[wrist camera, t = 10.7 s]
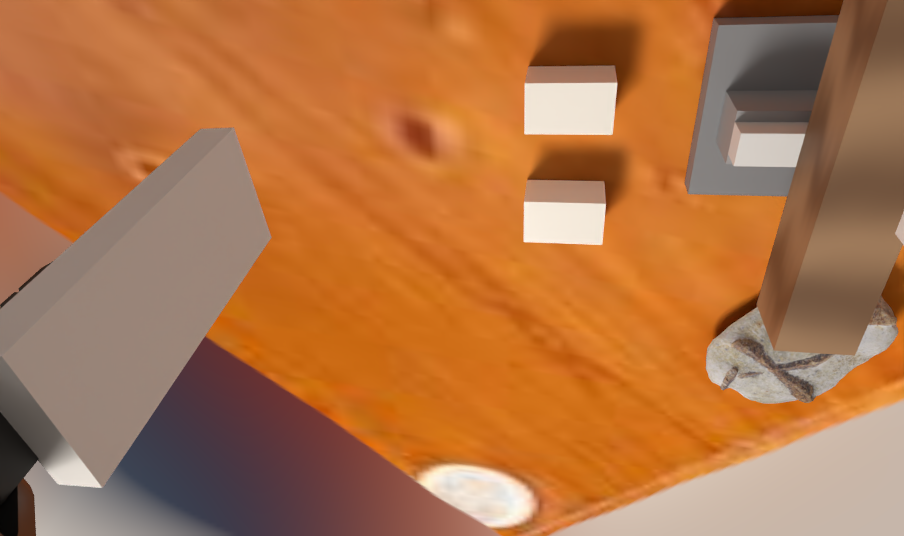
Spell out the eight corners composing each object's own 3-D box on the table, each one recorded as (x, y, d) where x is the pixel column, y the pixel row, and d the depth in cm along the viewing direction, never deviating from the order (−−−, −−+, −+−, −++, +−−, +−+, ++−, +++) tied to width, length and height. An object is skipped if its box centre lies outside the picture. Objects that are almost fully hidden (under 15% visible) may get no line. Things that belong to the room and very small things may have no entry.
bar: (866, -81, 25) (909, -67, 22) (978, -87, 24) (1039, -73, 21) (756, 304, 36) (773, 350, 33) (829, 308, 36) (854, 355, 32)
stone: (773, 400, 49) (784, 433, 46) (681, 349, 47) (688, 380, 44) (909, 306, 42) (932, 339, 39) (807, 242, 40) (824, 272, 38)
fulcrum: (713, 18, 33) (736, 50, 28) (962, 12, 31) (1032, 45, 26) (684, 182, 39) (699, 232, 34) (892, 186, 37) (940, 240, 32)
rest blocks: (528, 66, 36) (524, 83, 34) (614, 65, 35) (617, 82, 33) (526, 218, 42) (523, 241, 40) (600, 220, 41) (602, 244, 39)
